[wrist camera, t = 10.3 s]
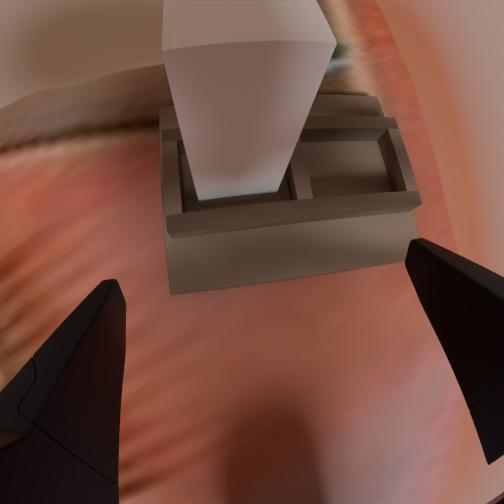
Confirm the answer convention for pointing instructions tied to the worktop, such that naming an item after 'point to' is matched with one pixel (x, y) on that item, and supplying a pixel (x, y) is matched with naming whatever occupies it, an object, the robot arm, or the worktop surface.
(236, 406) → the worktop surface
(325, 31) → the clay block
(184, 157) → the rack
